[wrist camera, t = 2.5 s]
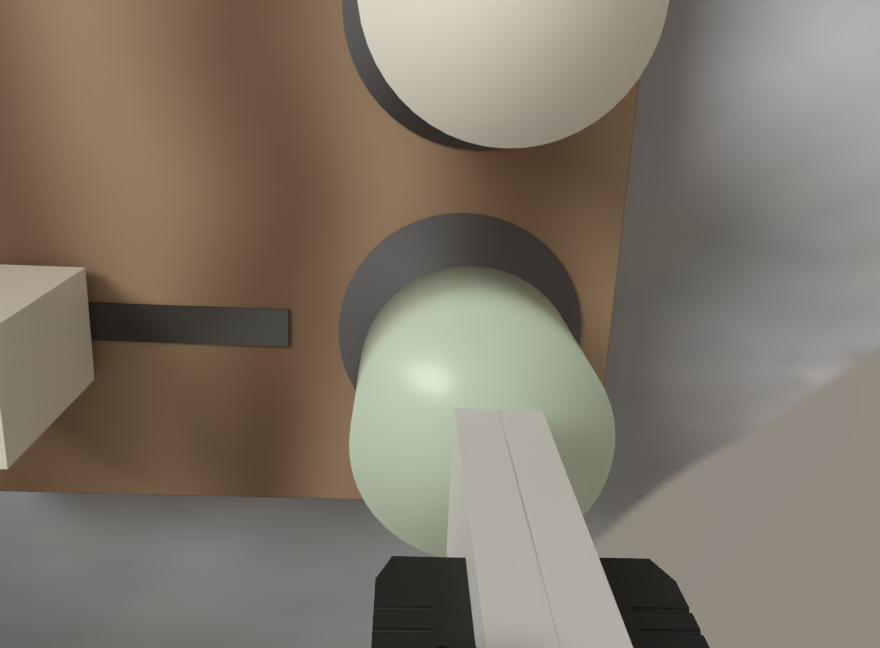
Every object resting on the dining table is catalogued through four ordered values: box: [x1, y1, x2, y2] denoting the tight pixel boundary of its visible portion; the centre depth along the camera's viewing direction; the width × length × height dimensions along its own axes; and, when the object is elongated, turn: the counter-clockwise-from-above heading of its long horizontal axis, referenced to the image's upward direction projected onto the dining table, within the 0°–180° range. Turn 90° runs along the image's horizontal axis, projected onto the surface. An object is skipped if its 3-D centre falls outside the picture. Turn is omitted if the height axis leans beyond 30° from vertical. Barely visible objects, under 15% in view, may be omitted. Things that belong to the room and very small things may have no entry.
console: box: [0, 0, 639, 499], centre depth 21 cm, size 19×26×4 cm
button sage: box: [349, 266, 616, 557], centre depth 18 cm, size 5×5×4 cm
